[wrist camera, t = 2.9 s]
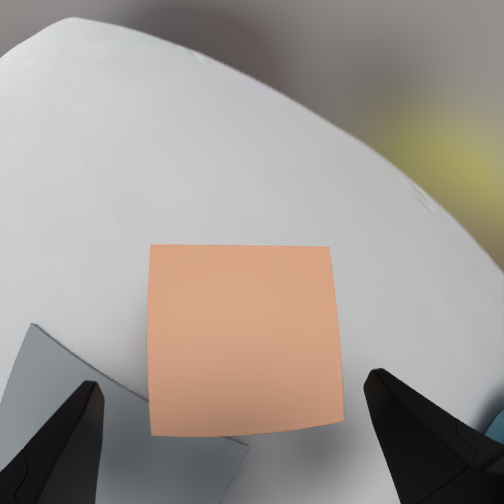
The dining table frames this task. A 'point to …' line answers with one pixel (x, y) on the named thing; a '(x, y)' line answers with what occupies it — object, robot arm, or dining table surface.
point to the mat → (113, 432)
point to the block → (242, 340)
